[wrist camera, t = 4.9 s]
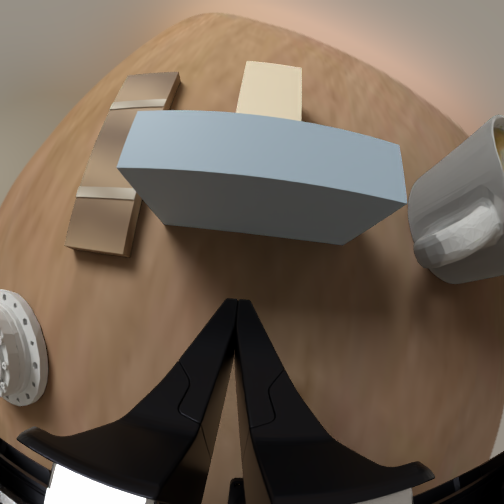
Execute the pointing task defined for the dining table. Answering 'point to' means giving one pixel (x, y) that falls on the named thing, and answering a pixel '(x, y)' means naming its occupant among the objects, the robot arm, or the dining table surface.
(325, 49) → the dining table surface
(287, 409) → the robot arm
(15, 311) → the mechanical component
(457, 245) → the coffee mug
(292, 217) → the light blue upright panel
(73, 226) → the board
